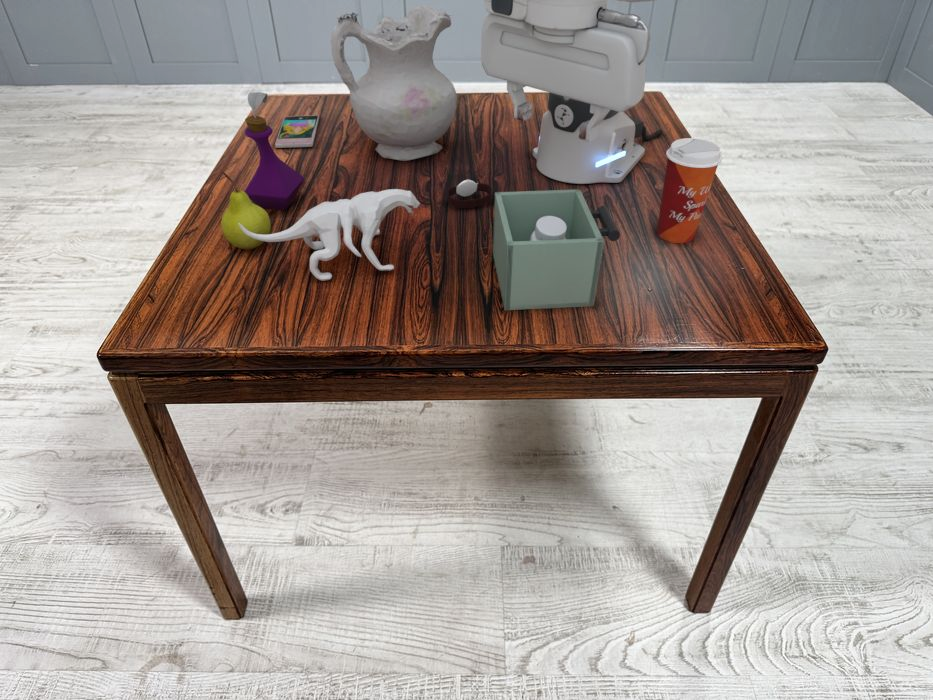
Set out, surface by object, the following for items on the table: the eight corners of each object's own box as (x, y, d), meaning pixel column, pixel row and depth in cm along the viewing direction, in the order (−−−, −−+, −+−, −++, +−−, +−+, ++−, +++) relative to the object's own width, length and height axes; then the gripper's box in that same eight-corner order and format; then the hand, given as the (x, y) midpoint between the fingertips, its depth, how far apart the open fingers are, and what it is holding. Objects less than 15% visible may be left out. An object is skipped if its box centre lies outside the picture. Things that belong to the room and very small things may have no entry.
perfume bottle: (290, 216, 105) (268, 104, 94) (247, 212, 107) (220, 100, 95) (308, 195, 111) (289, 87, 99) (267, 191, 112) (243, 83, 101)
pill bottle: (564, 270, 91) (576, 223, 85) (548, 289, 89) (558, 243, 82) (535, 255, 93) (544, 208, 86) (518, 274, 90) (526, 227, 84)
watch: (486, 193, 112) (487, 173, 109) (495, 205, 108) (496, 185, 106) (443, 199, 110) (443, 179, 108) (451, 212, 107) (450, 191, 104)
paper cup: (672, 251, 97) (694, 162, 88) (639, 228, 103) (656, 142, 94) (712, 239, 100) (736, 151, 91) (678, 217, 105) (698, 132, 96)
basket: (492, 254, 97) (593, 249, 98) (504, 310, 86) (617, 305, 87) (494, 192, 90) (602, 188, 91) (507, 244, 80) (629, 240, 81)
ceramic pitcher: (379, 187, 116) (373, 39, 99) (323, 144, 126) (309, 4, 109) (473, 156, 126) (483, 17, 109) (415, 118, 137) (415, -13, 120)
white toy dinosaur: (432, 268, 94) (429, 205, 87) (253, 297, 88) (236, 233, 82) (412, 227, 103) (409, 168, 96) (249, 252, 97) (233, 190, 91)
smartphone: (319, 115, 137) (312, 143, 125) (319, 118, 137) (313, 147, 126) (284, 116, 136) (274, 144, 125) (285, 119, 137) (275, 148, 125)
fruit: (282, 237, 100) (267, 163, 93) (261, 261, 95) (243, 185, 88) (242, 232, 102) (223, 158, 94) (219, 254, 97) (197, 179, 89)
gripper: (668, 11, 66) (644, 143, 75) (507, -19, 76) (504, 101, 85) (637, 25, 62) (616, 162, 71) (472, -8, 72) (473, 115, 81)
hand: (554, 128), depth 78 cm, fingers open, 8 cm apart
